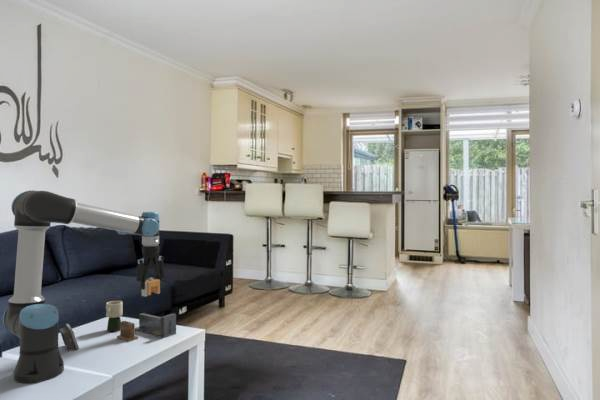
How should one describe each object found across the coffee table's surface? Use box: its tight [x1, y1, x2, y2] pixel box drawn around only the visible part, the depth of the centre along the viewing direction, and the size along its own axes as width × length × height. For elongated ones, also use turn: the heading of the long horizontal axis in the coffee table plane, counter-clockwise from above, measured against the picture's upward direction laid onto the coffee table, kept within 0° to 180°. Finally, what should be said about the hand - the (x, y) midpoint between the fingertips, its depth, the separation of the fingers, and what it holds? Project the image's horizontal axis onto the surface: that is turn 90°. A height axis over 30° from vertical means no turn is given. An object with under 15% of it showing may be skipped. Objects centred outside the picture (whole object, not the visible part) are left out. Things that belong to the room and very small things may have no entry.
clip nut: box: [145, 277, 161, 296], centre depth 198 cm, size 6×5×7 cm
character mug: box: [105, 300, 124, 332], centre depth 199 cm, size 11×7×13 cm, turn 176°
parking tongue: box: [116, 320, 139, 343], centre depth 188 cm, size 5×8×7 cm, turn 58°
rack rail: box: [134, 312, 177, 339], centre depth 197 cm, size 7×20×9 cm, turn 58°
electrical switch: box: [58, 323, 80, 352], centre depth 176 cm, size 9×5×9 cm, turn 38°
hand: (150, 294), depth 198 cm, fingers closed on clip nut, 6 cm apart
